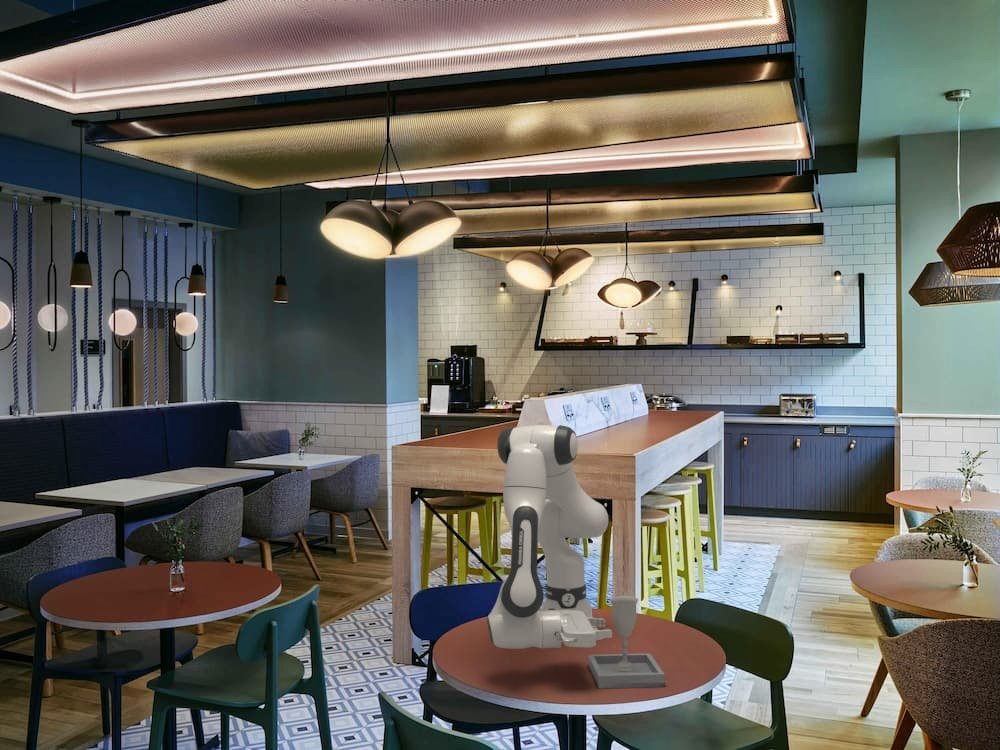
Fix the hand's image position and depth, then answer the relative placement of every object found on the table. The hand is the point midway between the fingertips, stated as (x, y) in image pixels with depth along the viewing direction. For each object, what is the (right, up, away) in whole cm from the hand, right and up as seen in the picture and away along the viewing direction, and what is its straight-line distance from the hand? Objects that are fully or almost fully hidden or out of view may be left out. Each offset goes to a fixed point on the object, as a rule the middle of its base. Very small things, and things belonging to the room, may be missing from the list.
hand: (608, 627), depth 209 cm
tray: (+4, -12, 0) cm, 13 cm away
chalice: (+4, -11, 0) cm, 12 cm away
